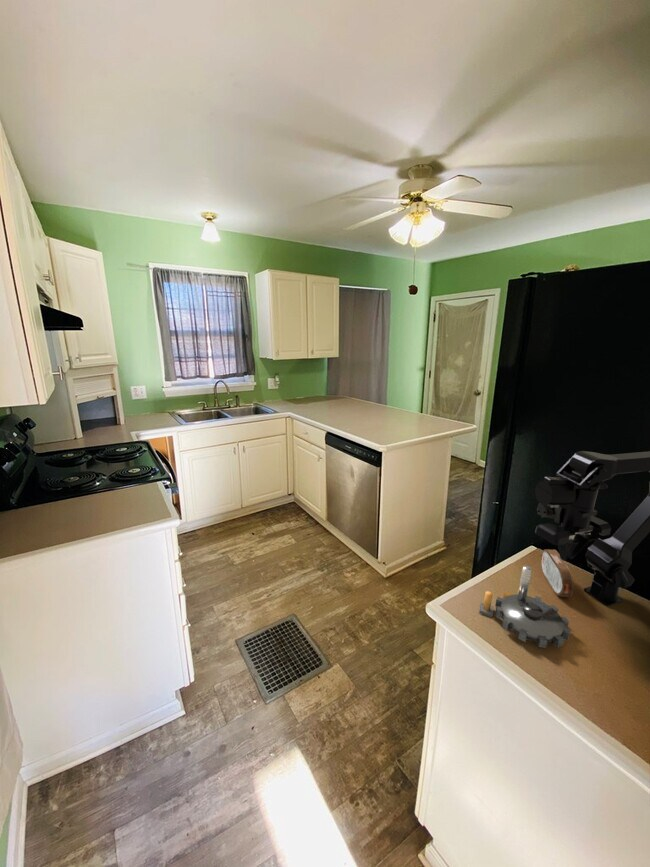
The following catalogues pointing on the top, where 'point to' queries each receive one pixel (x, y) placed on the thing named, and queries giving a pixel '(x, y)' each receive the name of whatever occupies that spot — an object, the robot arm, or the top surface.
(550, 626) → the sprocket
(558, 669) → the top surface
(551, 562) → the tin
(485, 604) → the rounded peg on base
